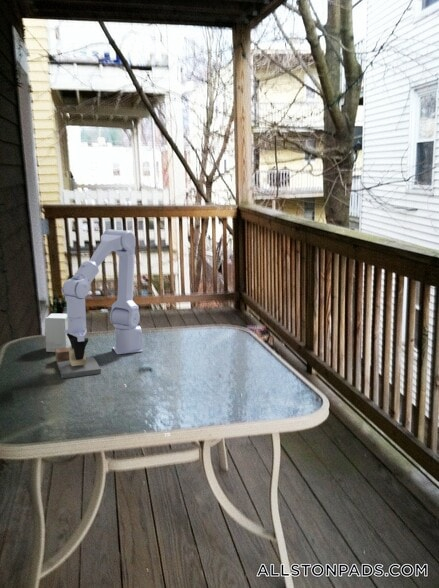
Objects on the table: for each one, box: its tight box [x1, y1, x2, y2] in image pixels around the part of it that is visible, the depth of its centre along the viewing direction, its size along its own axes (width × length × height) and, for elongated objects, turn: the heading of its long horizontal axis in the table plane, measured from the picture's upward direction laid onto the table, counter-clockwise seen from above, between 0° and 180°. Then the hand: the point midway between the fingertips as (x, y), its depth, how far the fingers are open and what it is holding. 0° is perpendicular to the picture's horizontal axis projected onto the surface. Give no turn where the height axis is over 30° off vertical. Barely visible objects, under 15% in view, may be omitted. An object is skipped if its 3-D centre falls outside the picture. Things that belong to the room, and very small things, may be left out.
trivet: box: [56, 357, 102, 379], centre depth 172 cm, size 12×12×2 cm
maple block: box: [69, 347, 87, 366], centre depth 171 cm, size 4×4×4 cm
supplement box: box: [44, 313, 72, 353], centre depth 191 cm, size 7×7×13 cm
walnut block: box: [55, 347, 71, 363], centre depth 179 cm, size 4×4×4 cm
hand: (78, 356), depth 172 cm, fingers closed on maple block, 4 cm apart
